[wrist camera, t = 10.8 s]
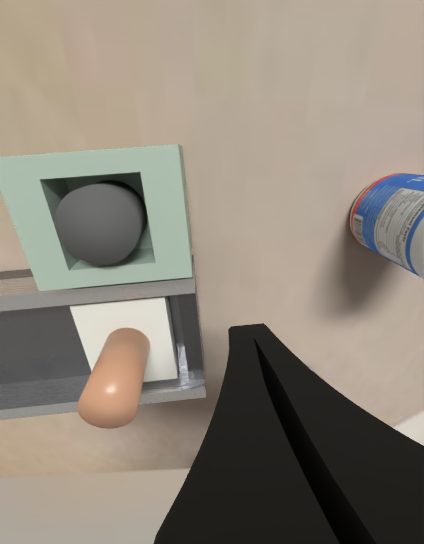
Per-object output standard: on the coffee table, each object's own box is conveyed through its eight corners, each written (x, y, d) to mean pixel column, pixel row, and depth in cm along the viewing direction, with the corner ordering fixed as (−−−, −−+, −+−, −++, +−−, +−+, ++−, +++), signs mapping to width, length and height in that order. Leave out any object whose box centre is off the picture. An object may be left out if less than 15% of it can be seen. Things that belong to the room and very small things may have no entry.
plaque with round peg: (178, 363, 21) (173, 445, 15) (102, 371, 21) (68, 457, 15) (166, 286, 18) (154, 350, 12) (78, 294, 18) (24, 363, 12)
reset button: (152, 242, 16) (144, 261, 13) (90, 247, 15) (68, 268, 13) (141, 177, 14) (129, 183, 11) (72, 182, 14) (43, 190, 11)
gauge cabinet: (191, 244, 19) (192, 277, 14) (79, 254, 19) (39, 291, 14) (181, 146, 16) (178, 144, 11) (50, 155, 16) (-13, 157, 11)
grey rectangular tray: (203, 359, 24) (206, 397, 20) (-52, 386, 23) (-98, 430, 19) (193, 254, 19) (193, 278, 16) (-120, 282, 19) (-196, 314, 15)
